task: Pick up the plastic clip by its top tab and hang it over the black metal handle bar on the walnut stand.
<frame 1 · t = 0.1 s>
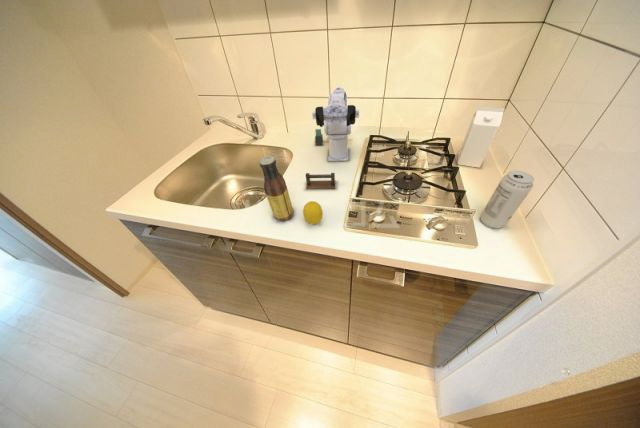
hand: (334, 122, 65), 22 cm above the worktop, tool horizontal, fingers open, 7 cm apart
handle rail: (321, 185, 80), on the worktop
lemon: (314, 223, 67), on the worktop
milk carton: (468, 161, 84), on the worktop
energy drink can: (491, 222, 62), on the worktop
clip: (319, 143, 103), on the worktop
sauce bottle: (283, 215, 71), on the worktop
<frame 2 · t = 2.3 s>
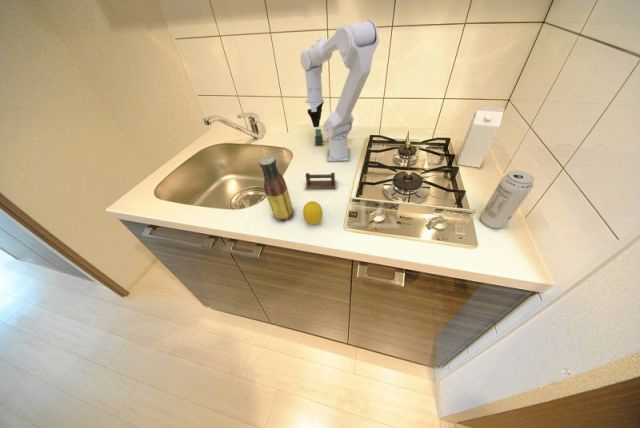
hand: (317, 123, 96), 9 cm above the worktop, tool pointing down, fingers open, 7 cm apart
nothing on the worktop moved.
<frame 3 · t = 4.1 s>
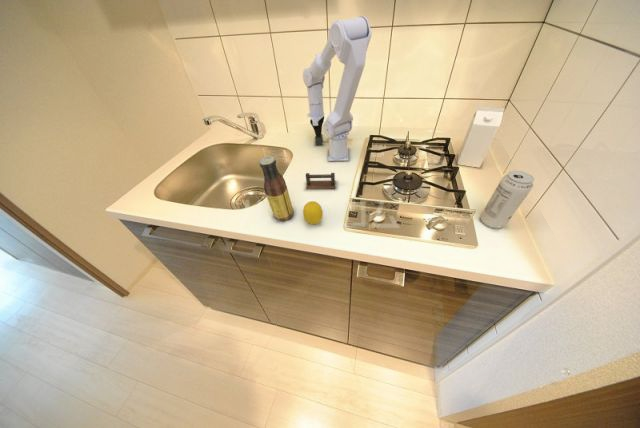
hand: (318, 135, 100), 4 cm above the worktop, tool pointing down, fingers closed on clip
clip: (319, 143, 103), on the worktop, touching gripper
everything else where it was.
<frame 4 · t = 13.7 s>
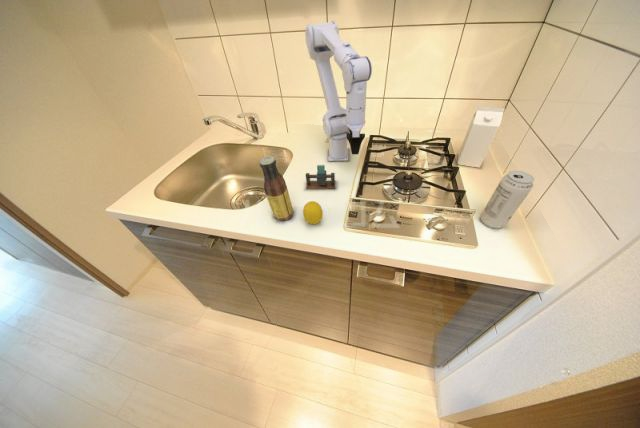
hand: (354, 148, 77), 10 cm above the worktop, tool pointing down, fingers open, 7 cm apart
clip: (322, 182, 79), point 2 cm above the worktop, touching handle rail
everything else where it was.
at the end: clip 0.5 cm off-centre on the handle rail, point 1.6 cm above the handle rail's base; clip touching handle rail; clip tilted 2° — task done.
